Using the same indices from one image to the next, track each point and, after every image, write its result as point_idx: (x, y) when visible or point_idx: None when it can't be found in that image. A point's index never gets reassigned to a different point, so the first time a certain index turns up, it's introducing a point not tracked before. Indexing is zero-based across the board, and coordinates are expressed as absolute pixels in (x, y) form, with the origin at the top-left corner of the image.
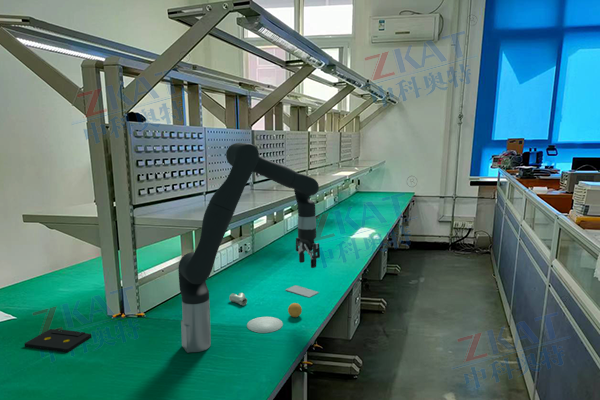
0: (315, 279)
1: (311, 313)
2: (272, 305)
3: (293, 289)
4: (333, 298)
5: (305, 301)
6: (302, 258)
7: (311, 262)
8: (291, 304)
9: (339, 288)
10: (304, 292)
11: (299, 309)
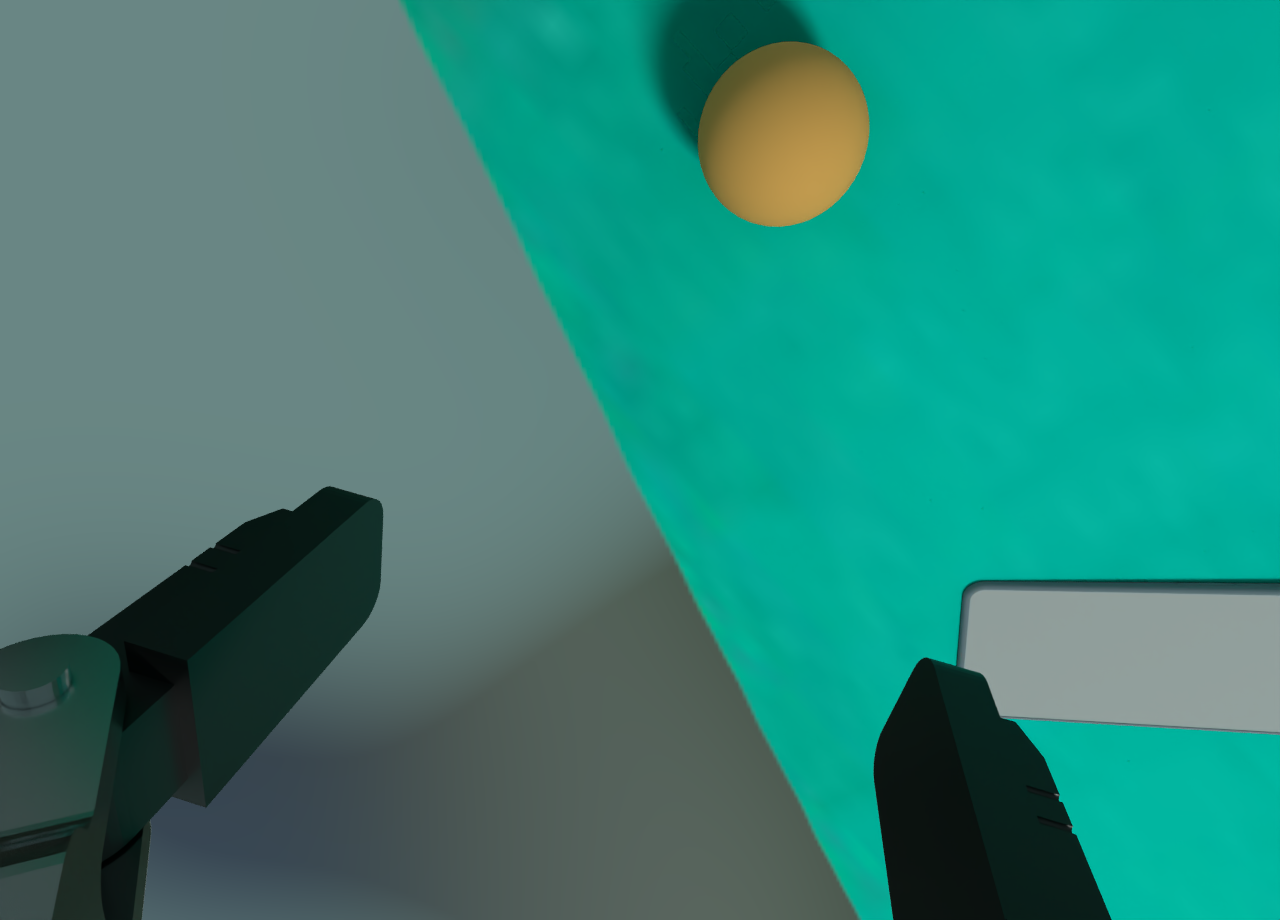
0: (1181, 911)
1: (704, 321)
2: (1236, 168)
3: (1250, 644)
4: (772, 677)
5: (942, 497)
6: (914, 811)
7: (227, 569)
8: (818, 104)
9: (864, 842)
10: (1085, 645)
11: (701, 142)
